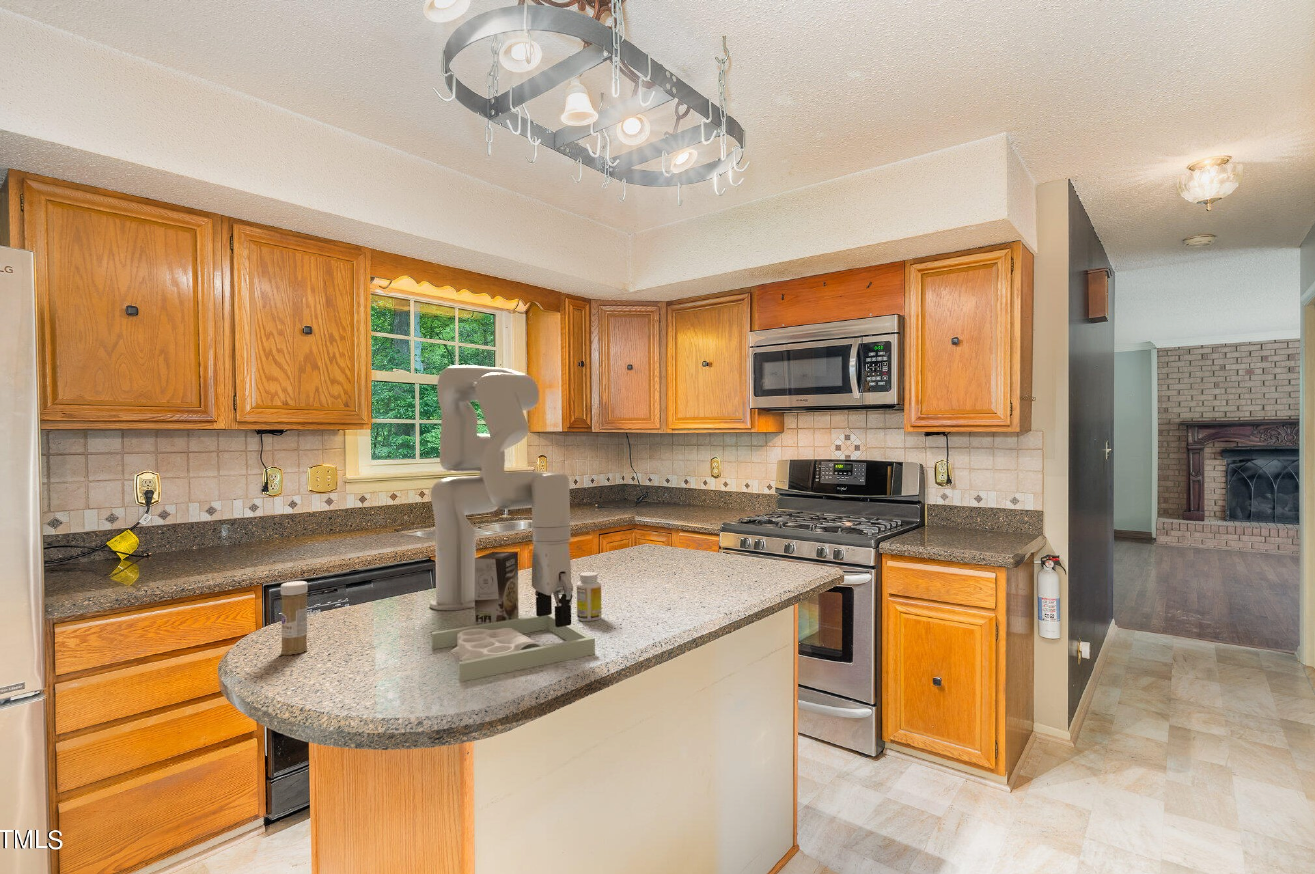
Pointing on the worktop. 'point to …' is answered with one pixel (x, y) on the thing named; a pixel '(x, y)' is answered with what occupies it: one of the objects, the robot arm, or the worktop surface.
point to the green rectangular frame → (517, 660)
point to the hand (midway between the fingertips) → (553, 620)
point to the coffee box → (496, 587)
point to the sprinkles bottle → (294, 617)
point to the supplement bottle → (588, 597)
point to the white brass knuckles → (490, 643)
